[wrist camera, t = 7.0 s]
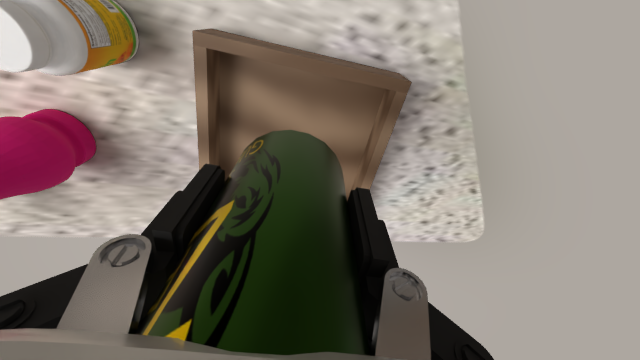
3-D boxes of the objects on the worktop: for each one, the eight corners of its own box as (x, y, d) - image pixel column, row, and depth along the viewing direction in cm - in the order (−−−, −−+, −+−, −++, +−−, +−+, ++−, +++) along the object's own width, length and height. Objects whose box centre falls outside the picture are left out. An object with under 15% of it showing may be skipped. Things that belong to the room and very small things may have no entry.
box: (210, 28, 23) (192, 30, 19) (398, 73, 25) (411, 82, 22) (213, 189, 32) (201, 209, 29) (349, 211, 34) (352, 232, 31)
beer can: (359, 146, 13) (514, 640, 3) (319, 221, 15) (319, 610, 5) (255, 106, 12) (-182, 683, 2) (231, 194, 14) (16, 618, 4)
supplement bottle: (97, 65, 24) (-15, 89, 16) (60, -4, 21) (-98, -17, 13) (151, 59, 24) (65, 80, 16) (121, -12, 21) (-2, -30, 13)
